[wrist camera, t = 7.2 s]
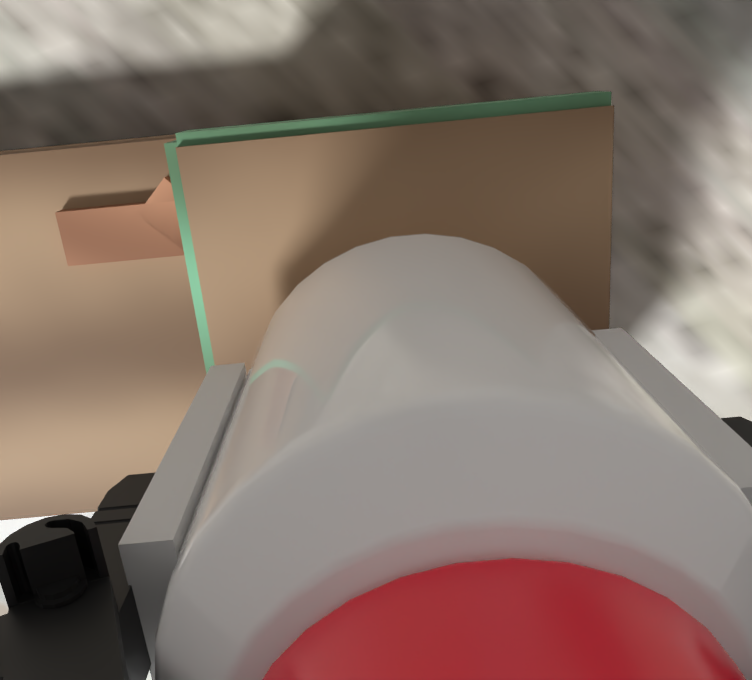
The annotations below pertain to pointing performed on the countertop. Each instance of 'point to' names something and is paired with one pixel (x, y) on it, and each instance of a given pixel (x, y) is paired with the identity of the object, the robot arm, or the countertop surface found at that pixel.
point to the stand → (251, 257)
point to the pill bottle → (454, 495)
